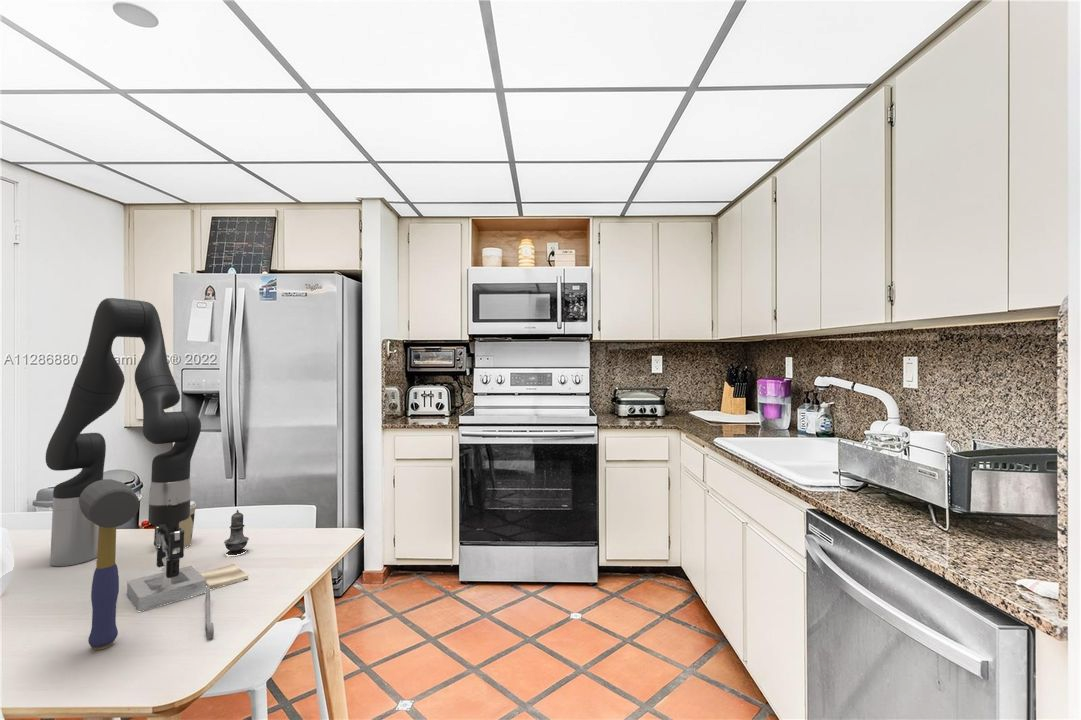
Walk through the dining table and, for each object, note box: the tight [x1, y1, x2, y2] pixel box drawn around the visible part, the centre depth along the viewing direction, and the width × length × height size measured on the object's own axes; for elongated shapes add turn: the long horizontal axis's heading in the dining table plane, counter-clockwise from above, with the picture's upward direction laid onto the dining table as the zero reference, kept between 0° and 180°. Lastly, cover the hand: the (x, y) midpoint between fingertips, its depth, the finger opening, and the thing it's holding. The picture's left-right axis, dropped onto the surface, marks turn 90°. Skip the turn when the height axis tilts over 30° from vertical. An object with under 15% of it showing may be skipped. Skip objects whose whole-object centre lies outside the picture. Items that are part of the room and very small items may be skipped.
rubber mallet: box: [79, 478, 140, 651], centre depth 89 cm, size 12×8×30 cm, turn 50°
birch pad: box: [199, 563, 249, 590], centre depth 118 cm, size 10×8×1 cm
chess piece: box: [160, 557, 172, 588], centre depth 109 cm, size 5×5×10 cm
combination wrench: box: [204, 586, 215, 641], centre depth 99 cm, size 4×1×20 cm
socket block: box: [126, 565, 206, 612], centre depth 109 cm, size 12×12×3 cm
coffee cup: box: [173, 500, 197, 552], centre depth 138 cm, size 9×9×12 cm
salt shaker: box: [223, 509, 250, 555], centre depth 134 cm, size 6×6×12 cm
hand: (167, 571), depth 109 cm, fingers open, 8 cm apart
